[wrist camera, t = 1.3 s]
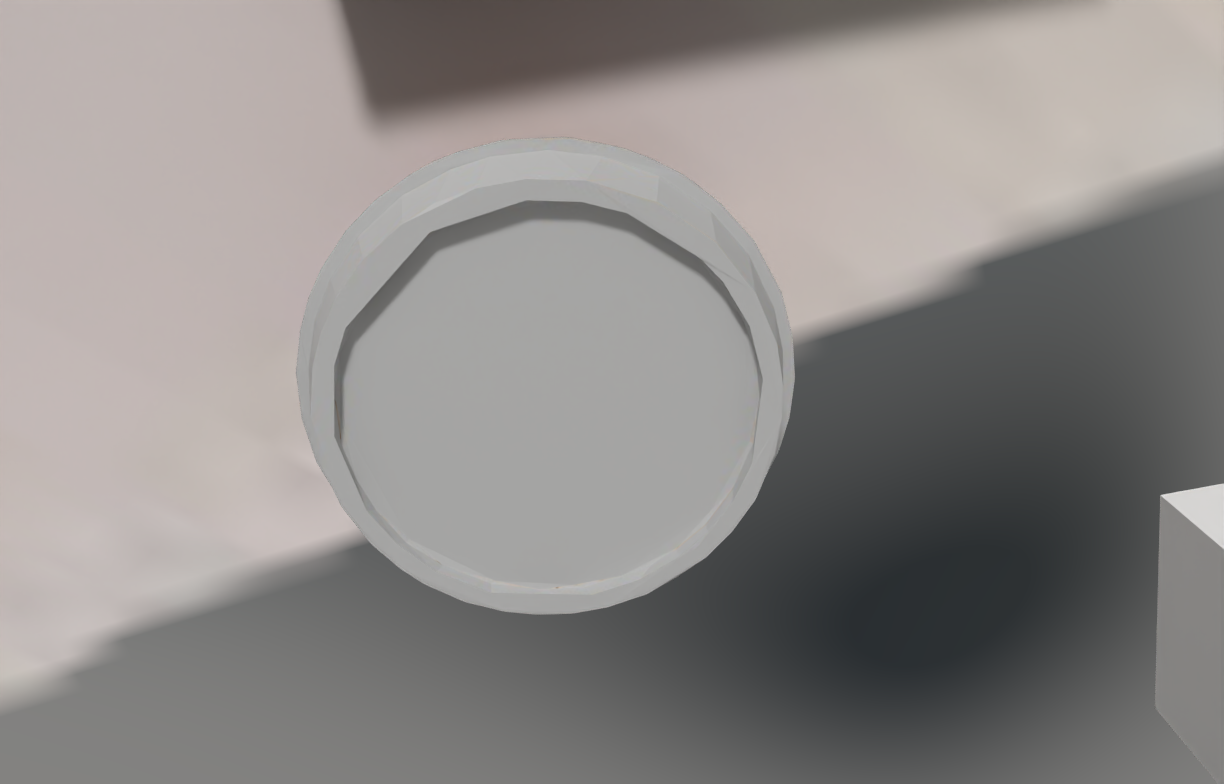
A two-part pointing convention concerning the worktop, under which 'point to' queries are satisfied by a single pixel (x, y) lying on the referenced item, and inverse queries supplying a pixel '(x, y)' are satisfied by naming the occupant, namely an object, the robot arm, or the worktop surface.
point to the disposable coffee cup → (545, 374)
